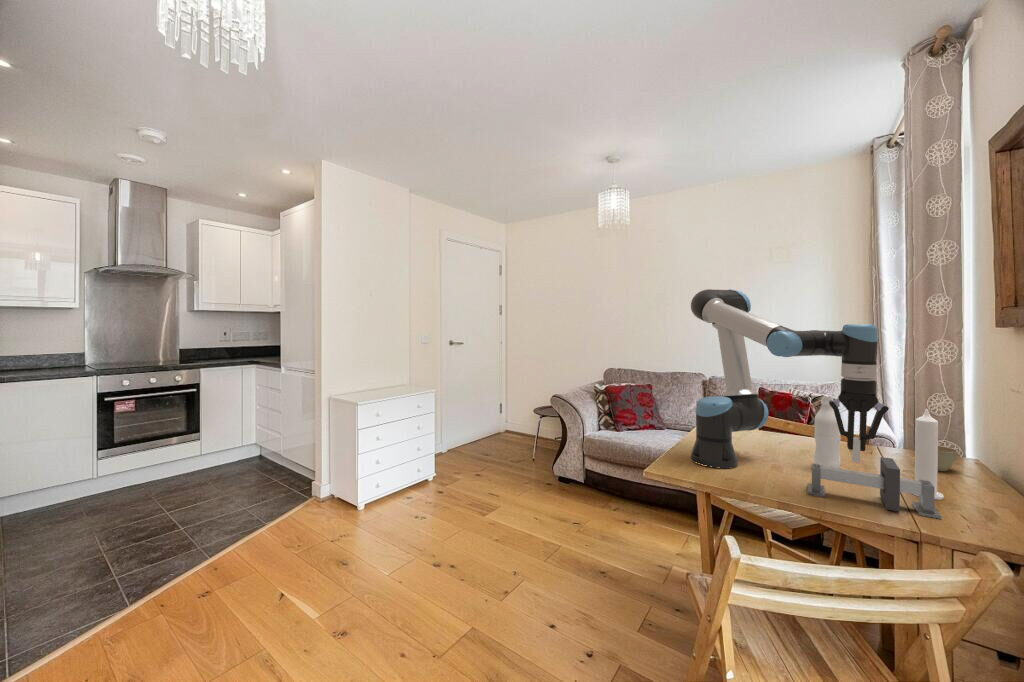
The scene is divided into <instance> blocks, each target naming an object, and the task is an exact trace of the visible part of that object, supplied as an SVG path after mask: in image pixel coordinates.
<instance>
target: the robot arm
mask: <svg viewBox="0 0 1024 682" xmlns="http://www.w3.org/2000/svg"><path fill="white" fill-rule="evenodd" d="M751 308H752V303H751V301H750V299H749V297H748V295H747V294H746V293H744V292H742V291H740V290H735V289H709V288H708V289H707V288H706V289H703V290H701V291H699V292H697V293H696V294H695V295H694V296H693V297H692V299H691V301H690V310H691V312H692V314H693V315H694V316H695V318H697V319H699V320H701V321H702V322H704V323H708V324H711V325H712V327H713V328H714V329H716V330H717V335H718V342H719V349H720V354H721V362H722V363H721V364H722V369H723V375H724V382H725V389H726V390H725V392H724V393H723V394H722V395H720V396H719V395H718V396H717V395H716V396H705V397H702V398H698V400H697V402H696V406H695V407H696V408H695V426H696V427H695V435H696V436H695V441H694V445H693V447H692V449H691V452H690V460H691V459H692V460H693V461H695V462H697V463H700V464H703V465H707V466H712V467H720V468H719V469H723V468H726V469H731V468H730V467H734V468H736V467H738V456H737V454H736V450H735V449H734V445H733V440H732V439H733V433H737V432H743V431H747V432H749V431H754V430H758V429H760V428H762V427H764V425H765V424H767V421H768V419H769V408H768V406H767V404H766V403H764V401H763V400H762V399H761V398H759V392H757V391H756V390H755V389H753V385H752V379H751V373H750V367H749V366H750V365H749V360H748V353H747V348H746V342H745V341H746V339H745V338H747V339H749V340H751V341H753V342H756V343H757V344H760V345H762V346H763V347H767V350H769V352H770V354H771V355H773V356H776V357H782V358H792V357H806V356H807V357H809V356H810V357H812V356H815V357H816V356H825V357H826V356H828V357H829V356H830V357H831V356H832V357H841V367H840V368H841V370H840V371H841V373H840V374H841V377H842V378H841V379H840V392H839V395H838V396H837V398H835V399H833V401H832V400H830V401H829V404H830V406H831V407H832V408H833V410H834V414H835V417H836V421H837V424H838V428H839V432H840V436H843V437H846V438H847V443H846V446H847V449H848V450H851V461H852V463H854V464H855V463H856V464H861V463H860V462H861V452H865V451H866V441H867V440H874V439H875V438H876V435H877V432H878V430H879V427H880V425H881V422H882V419H883V417H884V414H886V413H887V412H888V411H889V409H890V408H889V407H888V405H886V404H883V403H881V402H880V401H879V398H878V397H877V381H876V380H875V379H877V377H878V376H877V370H878V368H877V367H878V366H877V365H878V364H877V363H878V361H877V359H878V344H879V333H878V331H879V329H878V326H877V325H875V324H873V323H868V324H867V323H865V324H863V323H857V324H856V323H853V324H852V323H850V324H849V323H847V324H844V325H843V326H842V330H817V329H813V330H811V329H810V330H794V329H790V328H788V327H786V326H783V325H781V324H779V323H776V322H773V321H771V320H768V319H765V318H763V317H761V316H757V315H755V314H754V313H753V314H752V313H751ZM840 403H841V404H842V406H843V407H844V408H845V409H846V410H847V430H845V427H844V423H843V419H842V415H841V413H840V408H839V407H840V406H841V405H840ZM874 407H875V410H876V411H875V414H874V417H873V420H872V422H871V425H870V428H869V430H868V433H867V421H868V420H867V419H868V418H867V416H868V413H869V411H871V410H872V409H873V408H874ZM856 412H859V431H858V433H859V435H858V436H859V437H855V436H854V435H855V415H856ZM692 460H691V461H692ZM693 461H692V462H693ZM735 466H736V467H735ZM712 467H711V468H712Z"/></svg>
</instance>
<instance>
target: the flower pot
mask: <svg viewBox="0 0 1024 682" xmlns="http://www.w3.org/2000/svg"><path fill="white" fill-rule="evenodd" d="M958 455H959V451H958V450H957V449H955V448H952V447H949V446H943V445H938V466H937V472H948V470H950V469H951V468H952V466H953V465H954V464H955V462H956V460H957V458H958Z"/></svg>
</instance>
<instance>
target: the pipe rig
mask: <svg viewBox="0 0 1024 682" xmlns="http://www.w3.org/2000/svg"><path fill="white" fill-rule="evenodd" d="M821 480H827V481H834V482H840V483H845V484H850V485H856V486H857V485H858V486H863V487H868V488H869V487H870V488H875V489H879V490H880V489H885V475H880V474H878V473H872V472H865V471H859V470H851V469H847V468H833V467H826V466H820V465H819V464H815V463H811V483H809V482H807V485H806V486H807V495H810V496H815V497H820V498H826V492H825V491H826V489H825V485H822V484H821V482H822V481H821ZM934 489H935V487H934V486H933V485H932V484H931V482H930V481H925V480H919V481H918V480H915V479H910V478H905V477H900V493H905V494H910V495H913V494H916V495H919V496H918V501H912V502H911V505H912V506H913V508H914V510H915V509H916V510H915V511H916V514H917V515H918V514H919V515H918V516H920V515H922V516H921V517H925V516H927V517H926V518H931V517H933V518H932V519H936V518H938V519H937V520H942V515H941V514H940V513H939V511H938V510H937V508H936V507H935V499H934ZM916 495H915V496H916Z"/></svg>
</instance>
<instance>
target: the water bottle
mask: <svg viewBox="0 0 1024 682" xmlns="http://www.w3.org/2000/svg"><path fill="white" fill-rule="evenodd" d="M830 400H832V401H833V400H834V397H833V396H821V403H820V405H821V407H820V408H819V410H818V411H817V413H816V414H815V416H814V433H813V437H814V440H815V449H814V454H813V462H814V463H813V464H819V465H820V466H826V467H833V468H839V469H841V468H840V467H841V464H842V461H841V460H842V459H841V456H840V455H841V454H840V443H841V441H842V437H841V434H840V432H839V428H838V424H837V421H836V417H835V414H834V410H833V408H832V407H831V406H830V404H829V401H830Z"/></svg>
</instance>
